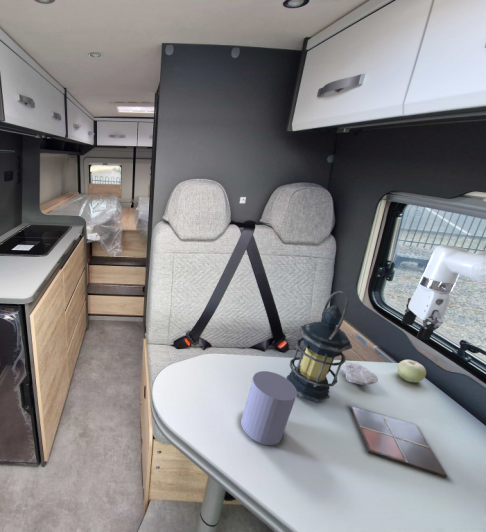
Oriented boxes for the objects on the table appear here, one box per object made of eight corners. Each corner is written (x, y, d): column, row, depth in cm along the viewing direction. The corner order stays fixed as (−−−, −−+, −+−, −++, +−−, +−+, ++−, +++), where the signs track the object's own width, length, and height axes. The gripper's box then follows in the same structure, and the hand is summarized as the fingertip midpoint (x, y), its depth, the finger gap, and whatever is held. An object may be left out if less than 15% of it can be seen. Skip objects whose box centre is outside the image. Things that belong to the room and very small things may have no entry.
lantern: (280, 371, 106) (309, 279, 94) (323, 383, 103) (359, 288, 90) (285, 400, 94) (320, 297, 81) (334, 414, 90) (378, 309, 78)
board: (414, 427, 88) (415, 424, 87) (445, 478, 74) (447, 475, 73) (350, 408, 93) (351, 405, 92) (368, 453, 78) (369, 450, 78)
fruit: (425, 389, 104) (435, 369, 101) (400, 382, 106) (409, 363, 103) (414, 374, 111) (423, 356, 108) (390, 369, 113) (398, 351, 110)
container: (238, 435, 80) (251, 389, 75) (243, 408, 89) (254, 366, 84) (281, 453, 76) (297, 406, 71) (281, 423, 85) (296, 380, 80)
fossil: (354, 383, 99) (342, 355, 107) (346, 392, 104) (334, 365, 111) (383, 385, 98) (369, 357, 106) (374, 394, 103) (360, 366, 110)
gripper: (470, 298, 88) (443, 348, 94) (433, 277, 103) (413, 321, 109) (438, 293, 89) (414, 342, 95) (407, 273, 105) (388, 316, 111)
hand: (414, 331), depth 102 cm, fingers open, 9 cm apart
